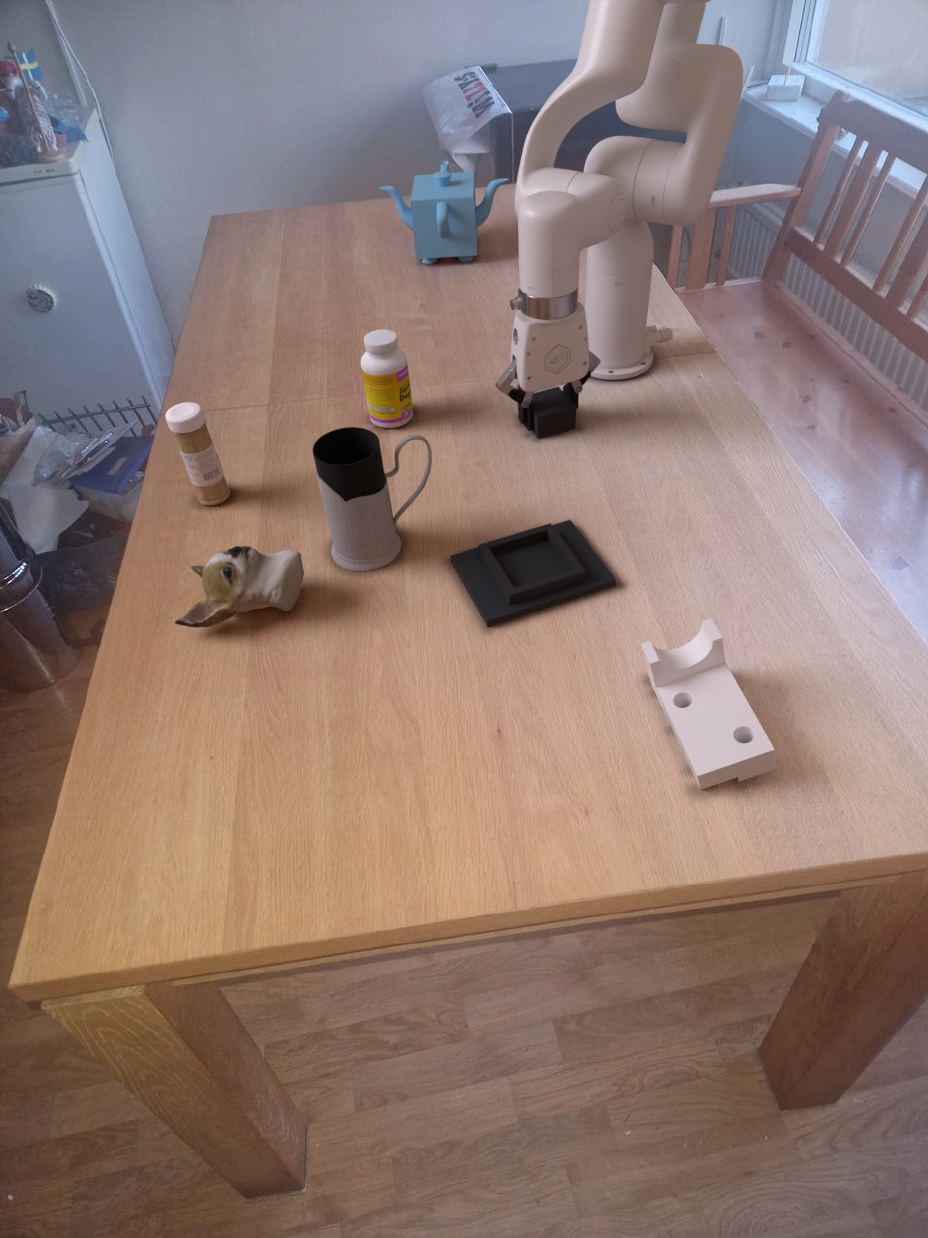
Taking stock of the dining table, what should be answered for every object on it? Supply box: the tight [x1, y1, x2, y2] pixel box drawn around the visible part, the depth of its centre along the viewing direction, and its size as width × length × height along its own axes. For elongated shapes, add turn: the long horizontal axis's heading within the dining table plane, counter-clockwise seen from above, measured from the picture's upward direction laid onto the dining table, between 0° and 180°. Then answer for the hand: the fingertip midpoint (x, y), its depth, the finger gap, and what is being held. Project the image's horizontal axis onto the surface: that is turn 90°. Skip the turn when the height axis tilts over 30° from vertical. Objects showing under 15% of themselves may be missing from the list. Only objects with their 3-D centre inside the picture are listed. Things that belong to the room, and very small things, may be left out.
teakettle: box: [377, 160, 509, 265], centre depth 157 cm, size 19×19×15 cm
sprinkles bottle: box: [164, 401, 231, 506], centre depth 104 cm, size 5×5×13 cm
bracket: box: [640, 618, 777, 791], centre depth 75 cm, size 13×7×8 cm, turn 11°
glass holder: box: [312, 426, 433, 572], centre depth 95 cm, size 9×14×15 cm, turn 113°
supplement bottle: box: [360, 328, 414, 429], centre depth 115 cm, size 7×7×13 cm
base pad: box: [449, 519, 617, 628], centre depth 94 cm, size 16×12×2 cm
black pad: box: [530, 386, 578, 439], centre depth 115 cm, size 6×6×4 cm
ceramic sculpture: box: [173, 545, 305, 628], centre depth 91 cm, size 11×9×15 cm
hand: (548, 418), depth 116 cm, fingers closed on black pad, 6 cm apart
